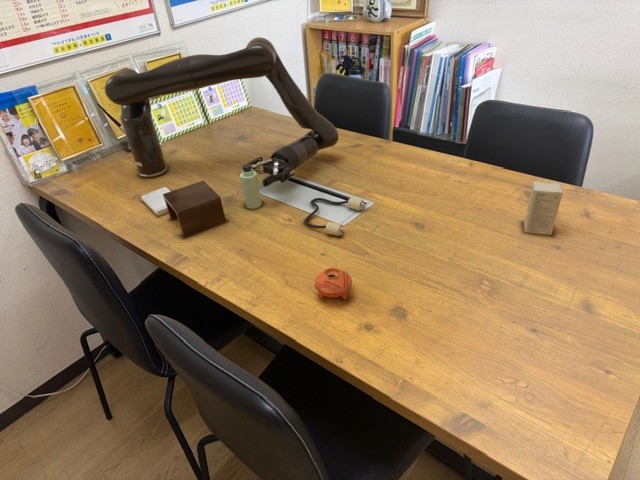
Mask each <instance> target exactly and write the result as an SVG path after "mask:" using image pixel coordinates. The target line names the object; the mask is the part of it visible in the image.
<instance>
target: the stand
mask: <svg viewBox="0 0 640 480" xmlns="http://www.w3.org/2000/svg"><path fill="white" fill-rule="evenodd" d="M170 191H171V192H168V193H165V194H163V197H164V200H165V203H166V206H167V209H168V212H167V213H168V216H169V219H170V220H171V221H173V220H176V219H177V220H178V223H179V227H180V230H181V233H182V236H183V238H189V237H190V236H194V235H196V234H199V233H200V232H203V231H206V230H208V229H211V228H213V227H216V226H219V225H221V224H224V223H226V222H227V220H226V215H225V211H224V206H223V203H222V198H221V196H220V195H219V194H218V193H217V192H216V190H214V189H213V188H212V187H211V186H210V185H209V184H208V183H207V182H206V181H205V180H200V181H197V182H194V183H192V184H189V185H186V186H183V187H180V188H177V189H174V190H170Z"/></svg>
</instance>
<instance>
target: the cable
mask: <svg viewBox="0 0 640 480" xmlns="http://www.w3.org/2000/svg"><path fill="white" fill-rule="evenodd" d="M316 201H321V202H326V203H328V204H331V205H344V204H347V207H348V208H350V209H353V210H356V211H359V212H360V211H363V207H366V204H365V203H364V200H363V199H360V198H358V197H355V196H351V197H349V199H346V200H343V201H334V200H330V199H327V198H323V197H315V198H312V199H311V200H310V205H312V206H313V207H315V209H314V210H313V211H312V212H311V213H309V215H307V216H306V218H305V219H304V224H305V225H306V226H307V227H309V228H314V229H325V233H326V234H328V235H333V236H337V237H339V236H343V232H344V231H345V228H343V226H342V224H341V223H337V222H333V221H328V222H327V223H326V225H317V224H312V223H309V220H310V219H311V218H312V217H313V216H314V215H315V214H317V212H318V211H319V210H320V206H319V205H318V204H316V203H315V202H316Z"/></svg>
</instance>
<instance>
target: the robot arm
mask: <svg viewBox="0 0 640 480" xmlns="http://www.w3.org/2000/svg"><path fill="white" fill-rule="evenodd" d="M282 61H283V60H282V59H281V57H280V56H279V54H278V53H277V49H276V48H275V47H274V44H273V43H272V42H271V41H270V39H269V40H268V39H267V38H265V37H261V36H257V37H254V38H252V39H251V40H249V42H248V43H247V44H246V46H245V48H242V49H239V50H236V51H233V52H230V53H224V54H207V53H206V54H201V53H200V54H192V55H191V54H190V55H189V56H188V55H187V56H183V57H178V58H176V59H172V60H170V61H168V62H165V63H163V64H160V65H158V66H156V67H154V68H151V69H150V70H149V69H148V70H147V71H143V72H137V71H136V70H135V69H132V68H130V67H123V68H120V69H118V70H117V71H116V72H114V73H113V74H111V75H110V76H109V77H108V78H107V80H106V81H105V85H104V93H105V96H106V97H107V99H108V100H109V101H110V102H112V103H113V104H115V105H118V106H120V109H121V111H120V117H119V119H120V123H121V126H122V128H123V131H124V134H125V137H126V139H127V143H128V145H129V148H127V147H126V145H127V143H126V142H125V141H123V142H122V148H123V150H125V151H127V152H131V154H132V157H133V161H134V165H135V166H136V169H137V173H138V175H139V177H141V178H145V179H149V178H155V177H159V176H161V175H163V174H165V173H166V172H167V171H168V165H167V163H166V158H165V156H164V153H163V149H162V146H161V143H160V140H159V137H158V133H157V130H156V126H155V124H154V120H153V116H152V106H151V102H150V99H151V98H156V97H162V96H167V95H175V94H179V93H184V92H191V91H195V90H200V89H203V88H207V87H210V86H211V87H212V86H216V85H219V84H220V85H221V84H223V83H226V82H227V83H228V82H230V81H231V82H232V81H236V80H237V81H238V80H245V79H246V80H247V79H256V78H263V77H265V78H266V79H267V80H268V81H269V82H270V83H271V85H272V86H273V88H274V90H275V91H276V93H277V94H278V96H279V98H280V100H281V101H282V104H283V105H284V107H285V109H286V110H287V112H288V113H289V115H290V116H291V117H292V118H293V120H294V121H295V122H296V123H297V125H299V128H301V129H304V130H309V131H308V132H306V133H305V134H304V135H303V136H301V137H300V138H298V139H296V140H294V141H291V142H289V143H287V144H286V145H283V146H282V147H280V148H278V149H276V150H275V151H274V152H273V153H272V154H271V156H270V158H268V159H264V158H263V156H258V157H256V158H255V159H253V160H250V161H248V162H246V164H251V168H252V169H253V171H255V172H256V173H257V174H259V175H264V174H267V175H268V176H266V177H265V178H263V179H262V186H263V187H265V188H267V187H269V186H271V185H272V184H275V183H278V182H280V183H281V184H283V183H284V184H285V182H287V181H288V180H290V179H291V178H292V177H293V176H295V170H296V169H297V168H299V167H301V166H302V165H304V164H305V162H307V161H309V160H310V159H312V158H313V157H314V156H316V154H317V153H318V152H320V151H321V150H325V149H327V148H328V149H329V148H331V147H334V146H336V145H337V143H338V142H339V132H338V129H337V128H336V127H335V125H334V124H333V123H332V122H331V121H329V120H328V119H327V118H326V117H324V115H322V114H321V113H319V112H318V111H317V109H316V108H315V107H314V106H313V104H312V103H311V102H310V100H309V99H308V98H307V97H306V95H305V94H304V93H303V92H302V90H301V88H300V87H299V86H298V85H297V83H296V82H295V81H294V79H293V78H292V76H291V74H290V73H289V71H288V69H287V68H286V66H285V64H284V63H283V62H282ZM241 173H242V171H241V172H240V174H241Z"/></svg>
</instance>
